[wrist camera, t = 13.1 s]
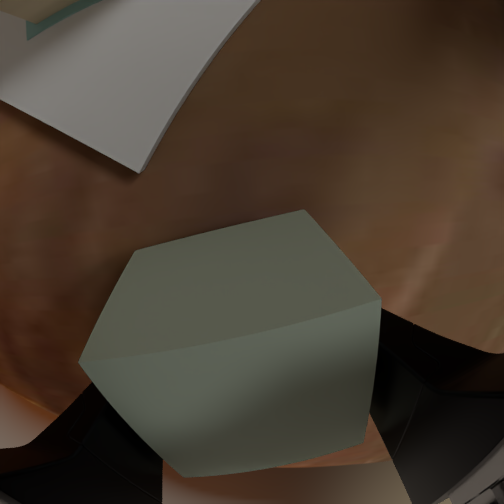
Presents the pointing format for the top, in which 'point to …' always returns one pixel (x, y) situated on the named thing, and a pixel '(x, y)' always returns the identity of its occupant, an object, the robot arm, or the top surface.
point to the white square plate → (114, 67)
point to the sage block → (240, 347)
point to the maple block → (33, 8)
